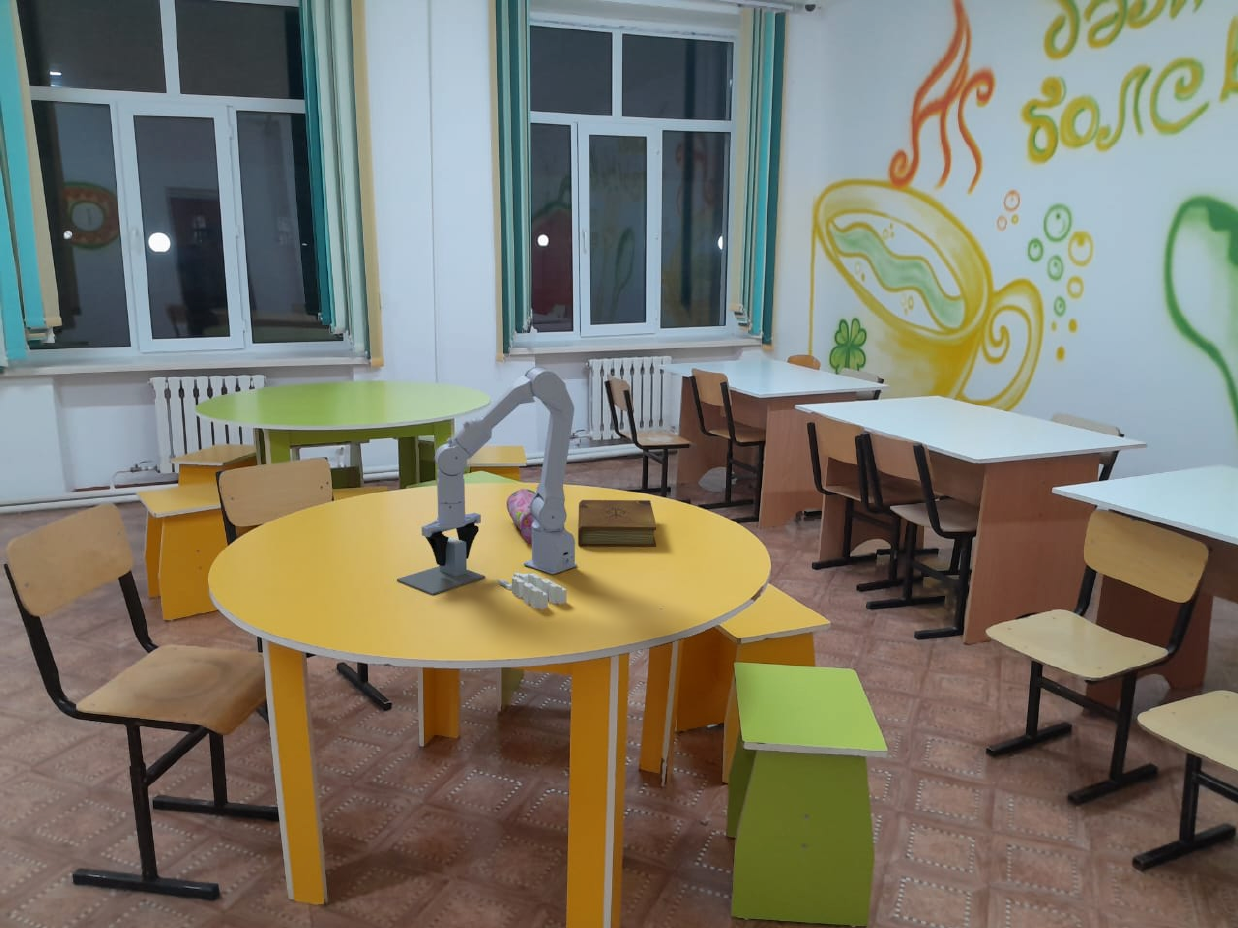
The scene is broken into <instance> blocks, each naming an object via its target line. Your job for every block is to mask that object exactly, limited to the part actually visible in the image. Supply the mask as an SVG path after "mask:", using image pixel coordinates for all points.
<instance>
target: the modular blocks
mask: <svg viewBox="0 0 1238 928" xmlns="http://www.w3.org/2000/svg"><path fill="white" fill-rule="evenodd" d="M497 581H498V584H497V585H500V586H502V587H505V589H506V590H508V591H510V590H511V594H512V595H513V596H516V598H518V599H520V598H523V603H525V604H527V605H530V607H531V608H533V609H535V610H537V609H539V610H544V609H548V608H549V603H551V604H553V605H556V604H558V605H563V604H567V598H568V597H567V596H568V595H567V588H564V587H563V586H561V585H559V584H557V583H555V582H554V581H552V579H548V578H546V579H544V578H542V577H541V576H540V575H537V574H535V573H533V572H530V573H520V572H514V573H513V577H511V583H510V582H508V581H507V580H505V579H503V578H502V579H498V580H497Z"/></svg>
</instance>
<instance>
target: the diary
mask: <svg viewBox="0 0 1238 928" xmlns="http://www.w3.org/2000/svg"><path fill="white" fill-rule="evenodd" d="M652 506H653V505H652V503H651V500H650V499H649V500H648V499H647V500H643V499H642V500H641V499H640V500H639V499H634V500H633V499H582V500H581V501H580V502H578V520H577V521H578V523H577V526H578V527H577V530H578V531H577V545H578V547H584V548H585V547H586V548H587V547H588V548H589V547H590V548H592V547H595V548H596V547H597V548H599V547H600V548H601V547H603V548H605V547H606V548H608V547H609V548H615V547H616V548H656V547H657V544H656V539H655V534H654V533H655V531H657V530H658V528H657V524H656V519H655V515H654V510H653V507H652Z"/></svg>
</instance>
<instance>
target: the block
mask: <svg viewBox="0 0 1238 928" xmlns="http://www.w3.org/2000/svg"><path fill="white" fill-rule="evenodd" d="M448 537H449V539H448V542H447V547H446V564H445V566H440V565H438V566H439V568H440V571H442V572H445V573H448V574H450V575H453V576H459V575H462V574H465V573H467V570H468V569H467V568H468V567H467V563H468V562H467V559H466V542H464V541H461V540H459V539H457V538H455V537H452V536H448Z"/></svg>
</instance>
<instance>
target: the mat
mask: <svg viewBox="0 0 1238 928" xmlns="http://www.w3.org/2000/svg"><path fill="white" fill-rule="evenodd" d="M482 579H486V576H485V575H484V574H481V573H478V572H476V571H473V570H470V569H467V573H465V574H462V575H459V576H453V575H450V574H448V573H445V572H442V571H440V568H439V565H437V566H435V567H432V568H428V569H425V570H422V571H420V572H416V573H413V574H410V575H406V576H402V577H399V578H397V579H396V581H397V582H399V583H400V584H404V585H406V586H409V587H412V588H413V589H416V590H419V591H421V592H424V593H425V594H429V595H431V596H435V595H438V594H440V593H444V592H446V591H449V590H452V589H455V588H459V587H462V586H464V585H467V584H470V583H474V582H476V581H480V580H482Z"/></svg>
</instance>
